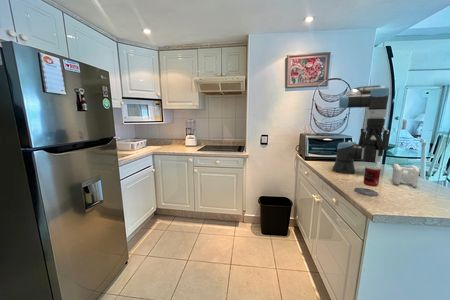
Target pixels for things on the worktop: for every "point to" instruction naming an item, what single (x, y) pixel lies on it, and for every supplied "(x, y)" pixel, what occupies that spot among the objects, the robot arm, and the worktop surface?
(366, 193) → the coaster
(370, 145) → the supplement bottle
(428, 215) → the worktop surface
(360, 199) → the worktop surface
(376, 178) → the canned food
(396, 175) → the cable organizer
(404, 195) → the worktop surface
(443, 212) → the worktop surface
